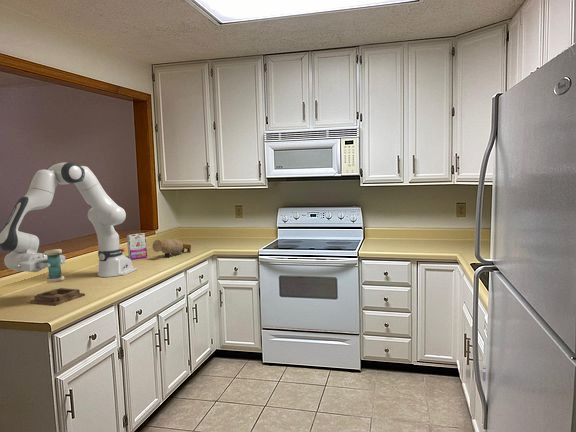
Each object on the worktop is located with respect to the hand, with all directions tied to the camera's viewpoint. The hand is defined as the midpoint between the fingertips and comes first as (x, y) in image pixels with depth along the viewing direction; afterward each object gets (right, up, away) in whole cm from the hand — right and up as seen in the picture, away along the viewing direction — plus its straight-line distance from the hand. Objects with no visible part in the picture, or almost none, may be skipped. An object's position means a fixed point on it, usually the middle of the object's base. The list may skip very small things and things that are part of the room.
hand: (55, 263), depth 204 cm
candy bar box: (+5, -7, +97) cm, 97 cm away
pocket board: (0, -16, +2) cm, 17 cm away
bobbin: (-1, -8, +1) cm, 8 cm away
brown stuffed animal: (+27, -6, +100) cm, 104 cm away
